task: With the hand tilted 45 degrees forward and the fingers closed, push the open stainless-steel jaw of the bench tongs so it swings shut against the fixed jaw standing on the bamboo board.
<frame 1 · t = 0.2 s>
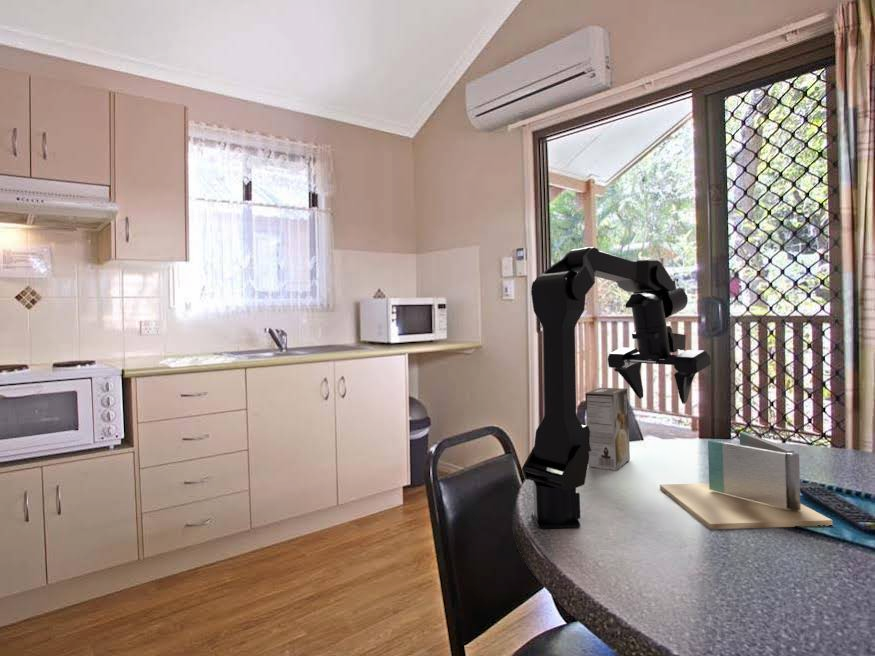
hand: (662, 400, 102), 15 cm above the table, tool pointing down, fingers open, 9 cm apart
coffee box: (609, 464, 111), on the table
jaw: (752, 472, 84), point 6 cm above the table, hinge at 35.0°
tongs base: (793, 515, 80), on the table
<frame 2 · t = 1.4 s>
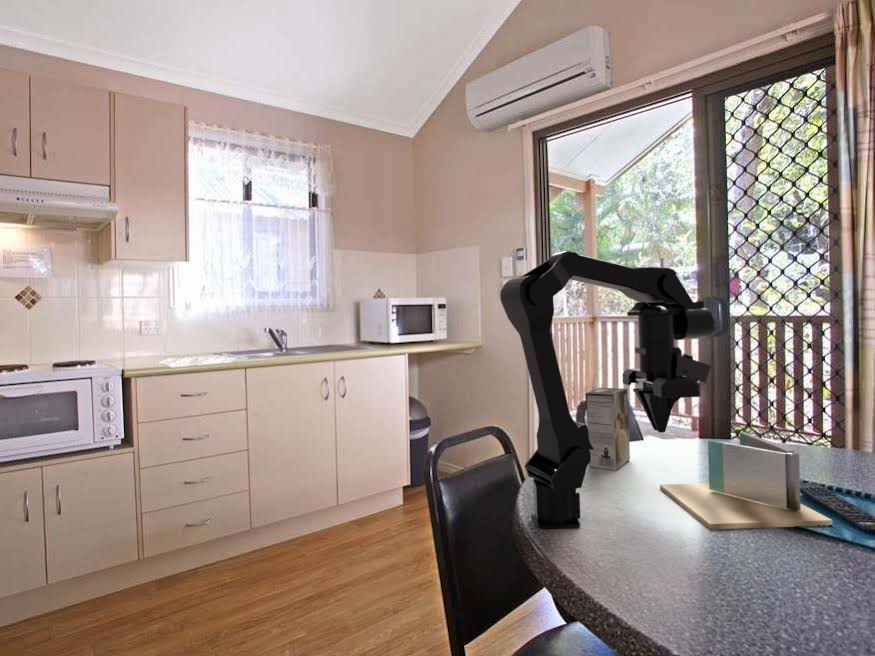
hand: (659, 431, 88), 12 cm above the table, tool pointing down, fingers closed
nothing on the table moved.
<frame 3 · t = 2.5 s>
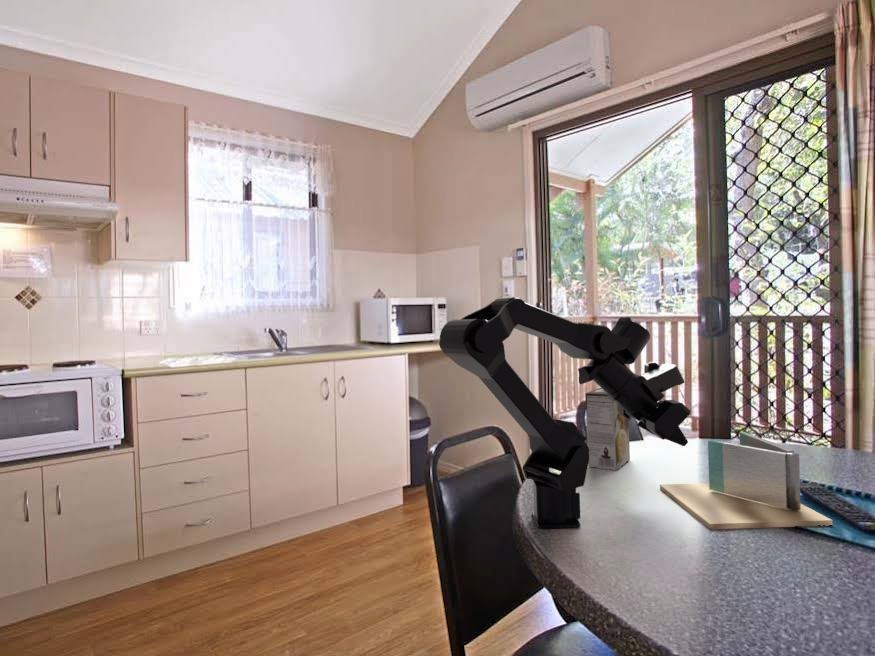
hand: (685, 443, 88), 10 cm above the table, tool tilted 45°, fingers closed
nothing on the table moved.
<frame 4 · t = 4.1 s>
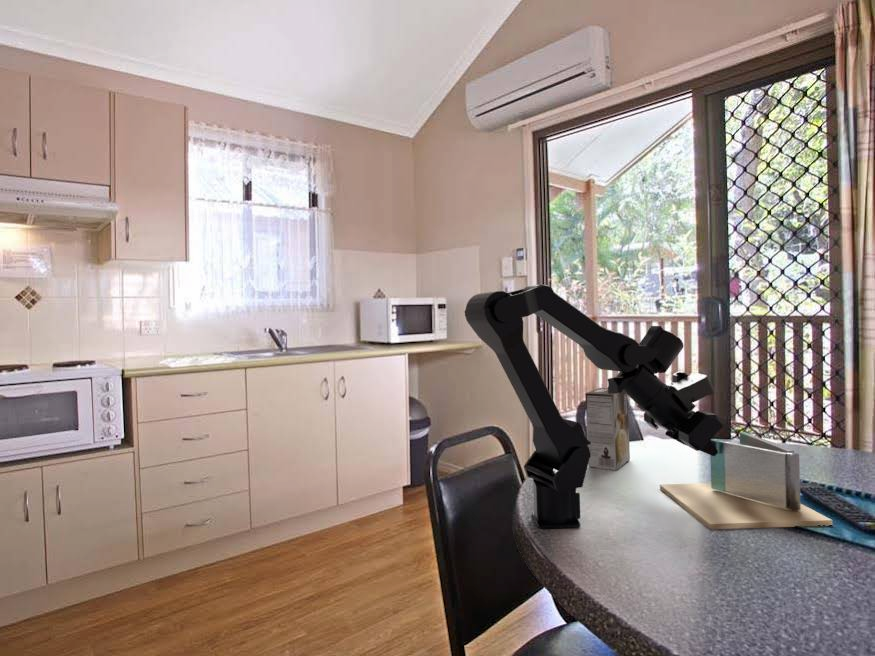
hand: (714, 453, 89), 8 cm above the table, tool tilted 45°, fingers closed
jaw: (753, 472, 85), point 6 cm above the table, hinge at 31.4°, touching gripper
everything else where it was.
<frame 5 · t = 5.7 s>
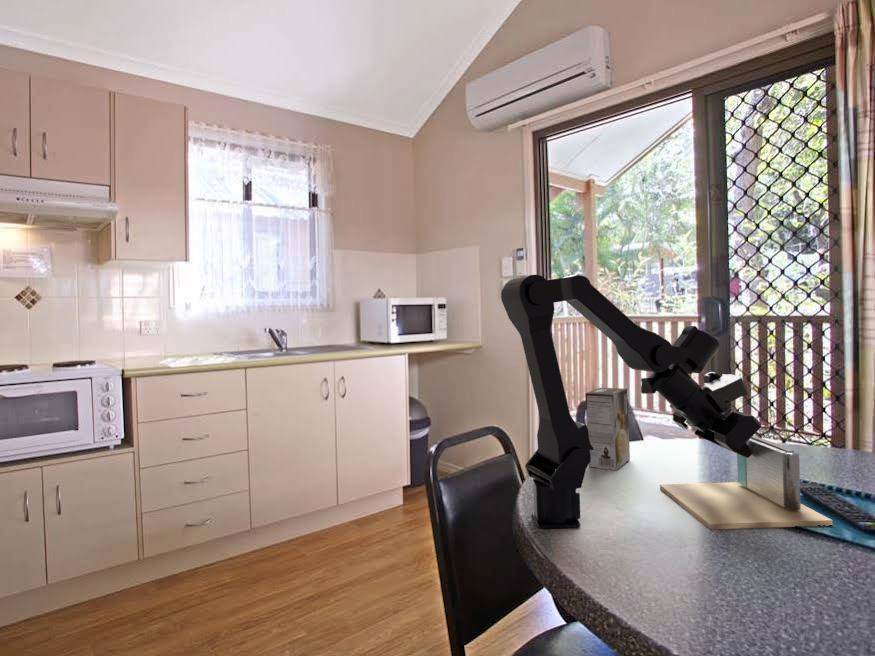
hand: (746, 454, 89), 7 cm above the table, tool tilted 45°, fingers closed
jaw: (767, 469, 85), point 6 cm above the table, hinge at 1.5°, touching gripper
everything else where it was.
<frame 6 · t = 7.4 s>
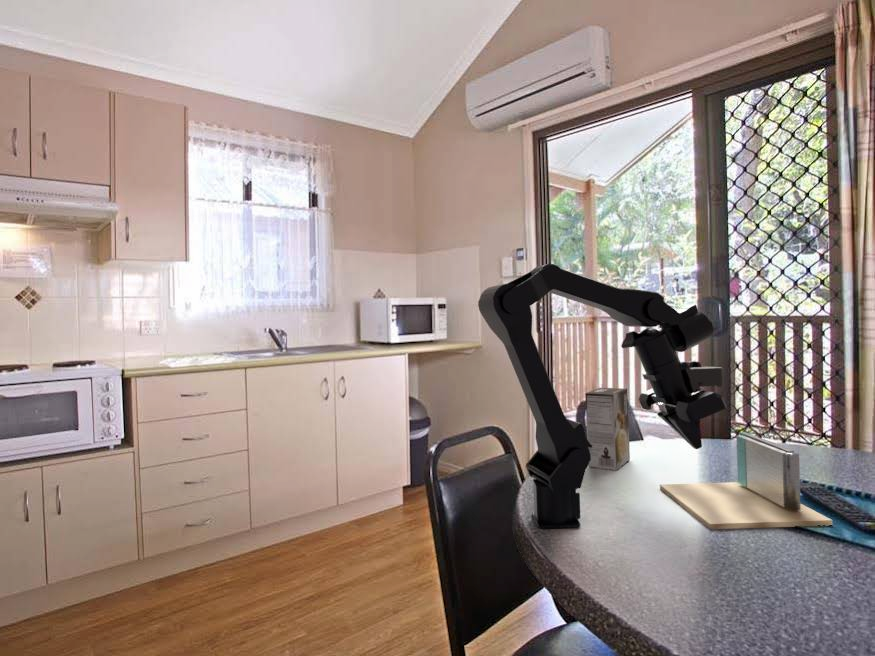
hand: (698, 447, 86), 10 cm above the table, tool tilted 20°, fingers closed
jaw: (767, 469, 85), point 6 cm above the table, hinge at 1.5°
everything else where it was.
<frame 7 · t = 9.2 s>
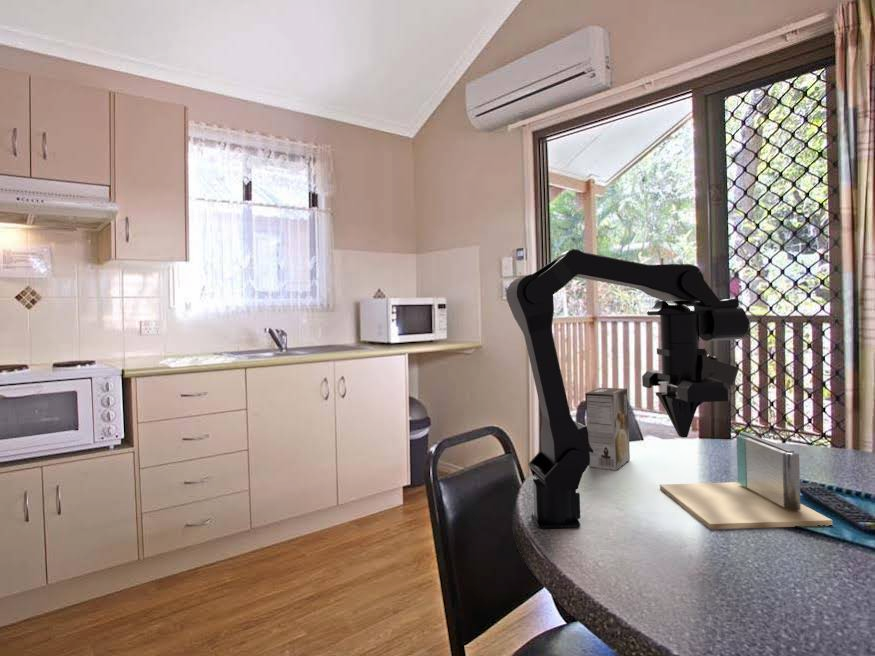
hand: (683, 436, 84), 12 cm above the table, tool pointing down, fingers closed
nothing on the table moved.
at the end: jaw at +2° (first picture: +35°); jaw touching nothing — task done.
